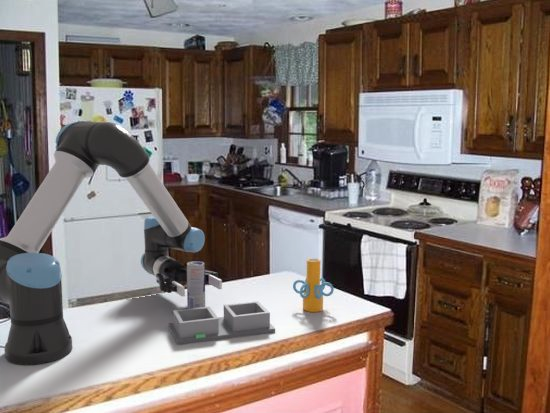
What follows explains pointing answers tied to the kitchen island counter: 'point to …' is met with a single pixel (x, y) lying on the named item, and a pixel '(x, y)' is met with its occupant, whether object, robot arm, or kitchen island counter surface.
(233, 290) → the kitchen island counter surface
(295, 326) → the kitchen island counter surface
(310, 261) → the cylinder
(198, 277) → the beverage can
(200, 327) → the double square planter tray
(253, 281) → the kitchen island counter surface
